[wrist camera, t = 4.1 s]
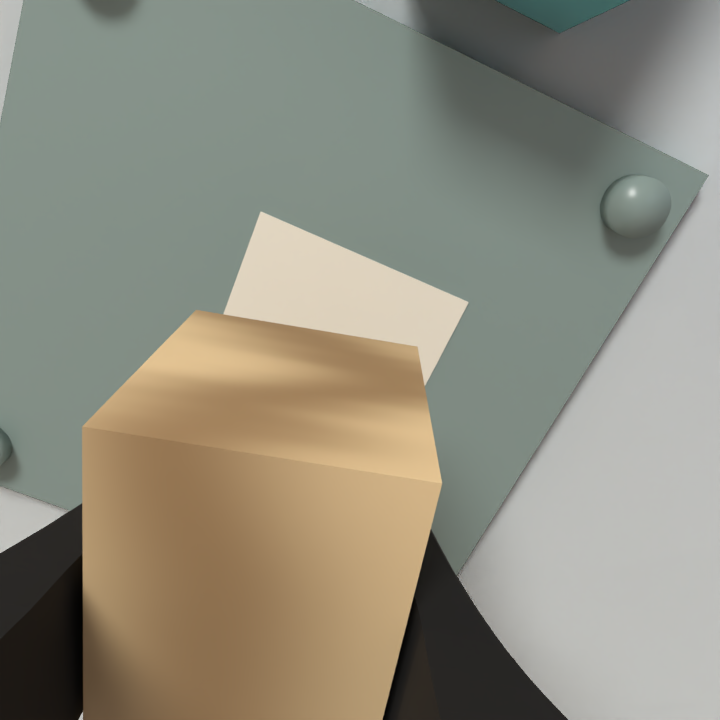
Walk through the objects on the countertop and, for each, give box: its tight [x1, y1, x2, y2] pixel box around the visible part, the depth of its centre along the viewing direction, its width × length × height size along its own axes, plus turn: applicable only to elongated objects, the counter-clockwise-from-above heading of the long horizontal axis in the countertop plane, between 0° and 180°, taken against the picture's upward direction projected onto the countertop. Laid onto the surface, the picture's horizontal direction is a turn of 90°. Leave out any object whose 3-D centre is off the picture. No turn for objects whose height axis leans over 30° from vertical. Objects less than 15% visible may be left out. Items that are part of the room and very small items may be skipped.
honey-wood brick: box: [82, 310, 442, 720], centre depth 11 cm, size 4×7×5 cm, turn 171°
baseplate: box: [0, 0, 709, 576], centre depth 18 cm, size 18×18×1 cm
